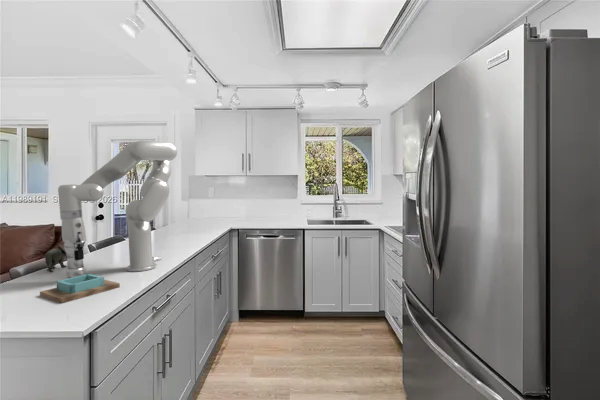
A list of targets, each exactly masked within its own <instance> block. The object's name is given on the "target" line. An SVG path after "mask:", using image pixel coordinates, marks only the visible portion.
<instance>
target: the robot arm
mask: <svg viewBox="0 0 600 400" xmlns="http://www.w3.org/2000/svg"><path fill="white" fill-rule="evenodd" d="M177 155H178V150H177V147H176V146H175V145H174V144H173V143H171V142H168V141H153V140H151V141H149V140H138V141H133V142H130V143H129V144H127V145H126V146H125V147H124V148H123V149H121V150H120V151H119V152H118V153H117V154H116V155H115V156H114V157H112V158H111V159H110V160H109V161H108V162H106V163H105V164H104V165H102V167H100V168H99V169H98V170H96V171H95V172H94V173H92V174H91V175H90V176H89V177H87V178H86V179H85V180H84V181H83V182H81V184H62V185H61V184H60V185H59V186H58V188H57V192H58V194H57V195H58V204H59V205H58V206H59V216H60V217H59V218H60V220H61V236H62V237H61V238H62V242H63V244H64V243H65V241H66V240H69V241H70V242H71V243H72V244H74V248H75V251H74V256H75V260H81V259H83V260H84V258H85V257H84V247H85V243H86V241H87V235H86V228H85V222H84V219H83V209H82V208H83V206H82V202H97V201H99V200H101V199H102V198H103V197H104V189H105V187H107V186H108V185H110V184H111V183H114V182H115V181H118V180H120V179H122V178H124V177H125V176H126V175H127V174H128V173H129V172H130V171H131V170H132V169H134V168H135V167H136V166H137V165H138V164H139V163H140V162H141V161H152V169H151V170H150V172H149V174H148V176H147V177H146V179H145V180H144V182H143V184H142V185H141V187H140V191H139V193H140V196H141V197H142V198H141V199H135V200H132V201H130V202H129V203H128V204H127V206H126V207H125V217H126V218H125V219H126V223H127V234H128V252H129V253H128V254H129V265H127V266H126V268H125V269H126V271H128V272H144V271H149V270H152V269H155V268H156V267H157V264H156V262H159V261H161V260H162V257H161V256H153V249H152V247H153V245H152V227H151V223H150V222H153V220H155V219H156V218H157V216H158V214H159V213H160V212H161V210H162V209H163V207H164V205H165V203H166V202H167V200H168V198H169V194H170V187H169V185H168V181H169V179H170V177H171V175H172V165H171V161H172V160H174V159H175V158H176V157H177ZM76 241H80V242H76ZM77 244H78V246H77ZM65 259H66V260H67V255H66V257H65Z"/></svg>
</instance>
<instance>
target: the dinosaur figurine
mask: <svg viewBox="0 0 600 400" xmlns="http://www.w3.org/2000/svg"><path fill="white" fill-rule="evenodd" d="M44 259H45V264H46V266H43V267H42V268H43V269H46V271H48V273H54V271H53V269H55V268H56V265H57V264H59V265H60V268H62V269H64V268H66V267H67V265H66V264H64V261H65V259H66V251H65V247H63V246H61V245H59V244H58V245H57V248H51V249H50V250H48V251H47V252H45V256H44Z"/></svg>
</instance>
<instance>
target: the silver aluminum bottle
mask: <svg viewBox="0 0 600 400" xmlns="http://www.w3.org/2000/svg"><path fill="white" fill-rule="evenodd" d="M76 242H80V241H76ZM63 246H64V247H63V248H65V251H66V255H67V259H66V261H67V264H66V266H67V269H66V277H67V279H69V278H73V277H78V276H82V275H86V273H87V272H86V268H85V265H84V259H81V260H75V256H74V251H75V248H74V244H72V243H71V242H70V241H69V240H66V241H65V243H64V242H63ZM77 246H78V244H77Z"/></svg>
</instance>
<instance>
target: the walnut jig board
mask: <svg viewBox="0 0 600 400" xmlns="http://www.w3.org/2000/svg"><path fill="white" fill-rule="evenodd" d="M120 286H121V284H120V283H119V282H117V281H111V280H108V279H105V277H104V276H100V275H96V274H91V273H87V274H86V273H85V275H82V276H78V277H73V278H69V279H68V278H66V279H61V280H56V287H54V288H50V289H45V290H42V291H39V297H43V298H45V299H48V300H51V301H54V302H57V303H61V304H65V303H68V302H72V301H75V300H79V299H82V298H86V297H89V296H92V295H93V296H94V295H96V294H100V293H103V292H107V291H111V290H114V289H117V288H120Z"/></svg>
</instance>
